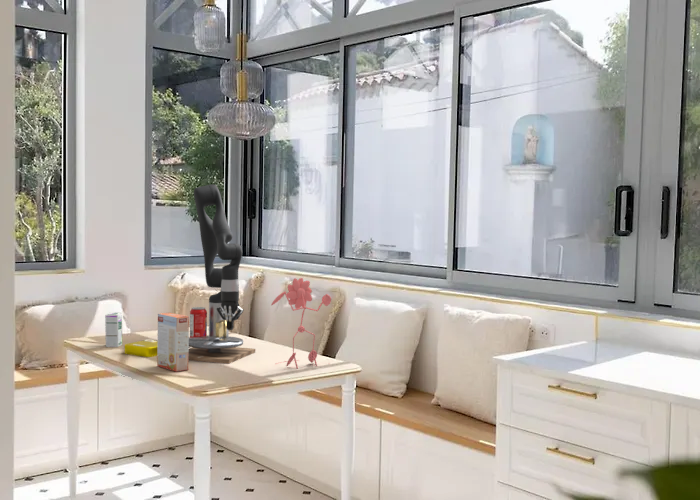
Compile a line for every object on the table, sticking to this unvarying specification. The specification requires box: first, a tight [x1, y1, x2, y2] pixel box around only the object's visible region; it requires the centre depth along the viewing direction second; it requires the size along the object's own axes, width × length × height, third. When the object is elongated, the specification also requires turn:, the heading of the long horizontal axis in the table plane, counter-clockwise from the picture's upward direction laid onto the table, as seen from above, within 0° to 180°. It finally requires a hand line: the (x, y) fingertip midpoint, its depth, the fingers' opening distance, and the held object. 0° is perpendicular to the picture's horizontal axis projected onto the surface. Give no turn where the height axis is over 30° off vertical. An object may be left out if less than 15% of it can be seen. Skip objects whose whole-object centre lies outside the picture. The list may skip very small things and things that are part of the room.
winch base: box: [188, 346, 256, 364], centre depth 324 cm, size 27×26×5 cm
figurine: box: [270, 277, 332, 370], centre depth 309 cm, size 15×26×35 cm, turn 127°
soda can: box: [189, 306, 208, 338], centre depth 360 cm, size 8×8×15 cm
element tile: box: [124, 338, 158, 358], centre depth 327 cm, size 15×15×5 cm
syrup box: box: [104, 312, 123, 348], centre depth 340 cm, size 6×6×14 cm
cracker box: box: [156, 312, 190, 373], centre depth 297 cm, size 14×6×21 cm, turn 43°
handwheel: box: [189, 320, 244, 349], centre depth 324 cm, size 24×24×8 cm
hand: (230, 329), depth 332 cm, fingers closed
